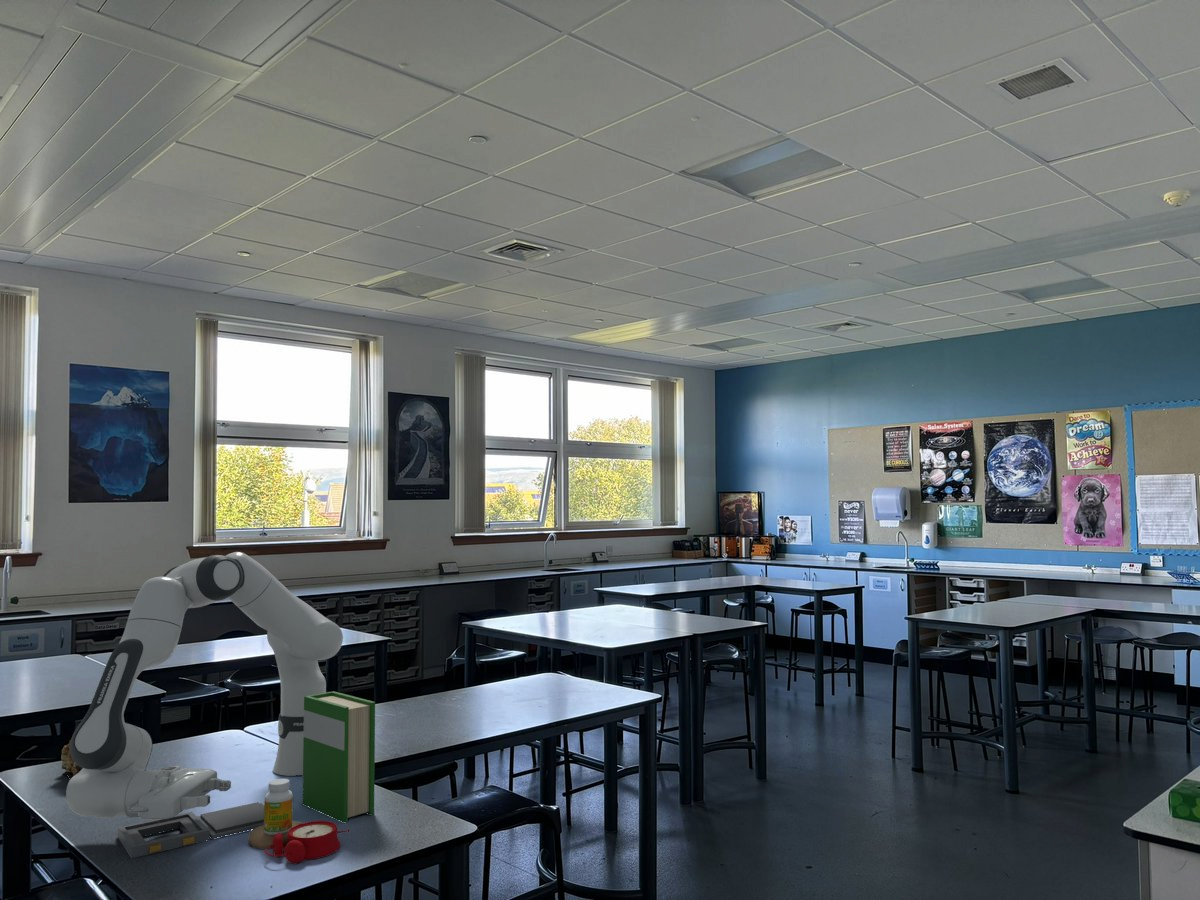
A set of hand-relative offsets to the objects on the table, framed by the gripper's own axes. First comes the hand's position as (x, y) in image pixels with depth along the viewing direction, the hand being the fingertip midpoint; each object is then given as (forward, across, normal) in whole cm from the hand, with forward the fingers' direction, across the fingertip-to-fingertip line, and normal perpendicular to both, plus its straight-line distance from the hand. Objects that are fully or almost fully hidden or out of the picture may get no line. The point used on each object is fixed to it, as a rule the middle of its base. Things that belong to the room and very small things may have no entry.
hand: (219, 793), depth 174 cm
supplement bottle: (+12, 0, +8) cm, 14 cm away
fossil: (-50, +42, +9) cm, 66 cm away
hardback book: (+19, +17, +9) cm, 27 cm away
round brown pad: (+12, 0, +9) cm, 15 cm away
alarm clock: (+20, -7, +10) cm, 23 cm away
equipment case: (-5, +5, +9) cm, 12 cm away
